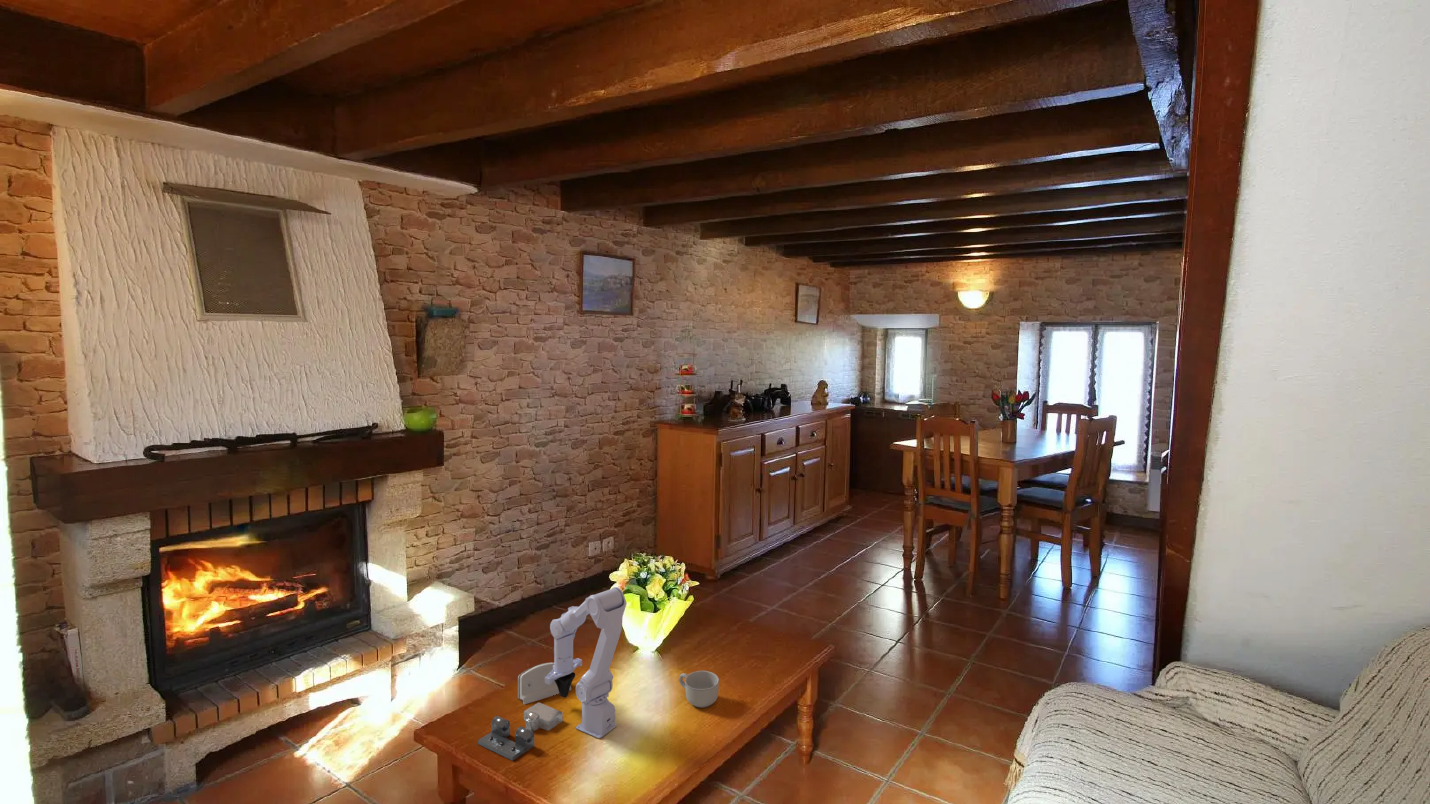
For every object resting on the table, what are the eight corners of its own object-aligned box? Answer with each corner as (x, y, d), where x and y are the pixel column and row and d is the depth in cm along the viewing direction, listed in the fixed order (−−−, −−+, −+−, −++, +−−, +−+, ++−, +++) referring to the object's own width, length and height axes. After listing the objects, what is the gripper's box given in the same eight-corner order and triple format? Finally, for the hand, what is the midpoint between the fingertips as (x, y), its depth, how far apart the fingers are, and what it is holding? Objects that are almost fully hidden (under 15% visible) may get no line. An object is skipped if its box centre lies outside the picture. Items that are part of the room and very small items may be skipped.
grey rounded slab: (522, 704, 220) (518, 671, 222) (517, 703, 224) (513, 670, 226) (572, 689, 230) (568, 658, 231) (567, 688, 234) (562, 657, 235)
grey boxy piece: (562, 721, 212) (562, 707, 211) (540, 735, 204) (540, 721, 204) (538, 711, 217) (538, 697, 217) (516, 725, 209) (516, 710, 209)
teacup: (725, 702, 224) (725, 678, 223) (701, 716, 216) (702, 691, 215) (694, 686, 233) (694, 663, 232) (670, 698, 225) (670, 675, 224)
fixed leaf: (534, 746, 199) (534, 729, 199) (512, 760, 193) (512, 743, 192) (499, 730, 207) (499, 713, 206) (477, 743, 200) (477, 727, 199)
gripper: (570, 642, 226) (570, 682, 227) (537, 660, 213) (537, 702, 215) (587, 648, 222) (587, 688, 224) (554, 667, 210) (554, 709, 211)
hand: (563, 695), depth 219 cm, fingers closed
